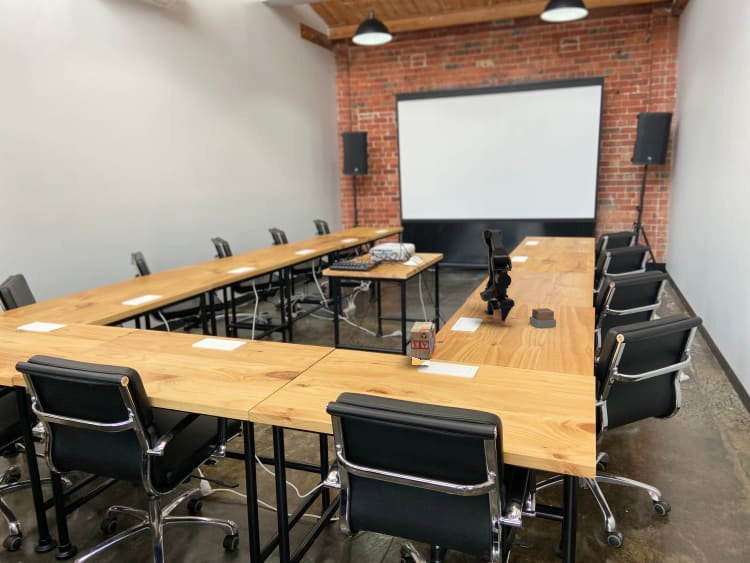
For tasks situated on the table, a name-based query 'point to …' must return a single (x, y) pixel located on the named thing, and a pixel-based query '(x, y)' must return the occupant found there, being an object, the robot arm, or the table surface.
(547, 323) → the tower base
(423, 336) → the cardboard box
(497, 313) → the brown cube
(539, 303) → the table surface
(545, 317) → the tower top
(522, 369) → the table surface
